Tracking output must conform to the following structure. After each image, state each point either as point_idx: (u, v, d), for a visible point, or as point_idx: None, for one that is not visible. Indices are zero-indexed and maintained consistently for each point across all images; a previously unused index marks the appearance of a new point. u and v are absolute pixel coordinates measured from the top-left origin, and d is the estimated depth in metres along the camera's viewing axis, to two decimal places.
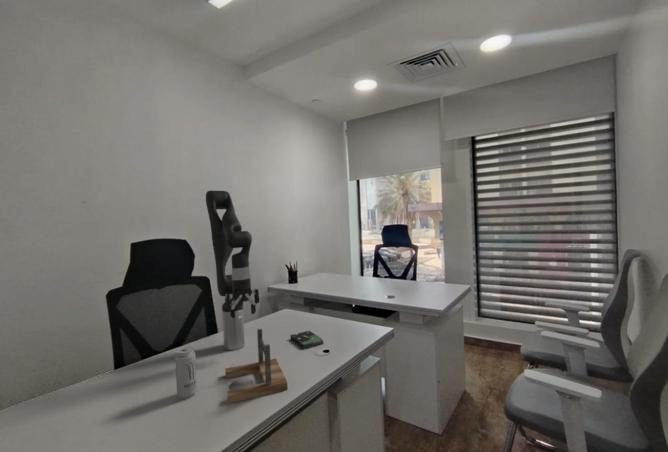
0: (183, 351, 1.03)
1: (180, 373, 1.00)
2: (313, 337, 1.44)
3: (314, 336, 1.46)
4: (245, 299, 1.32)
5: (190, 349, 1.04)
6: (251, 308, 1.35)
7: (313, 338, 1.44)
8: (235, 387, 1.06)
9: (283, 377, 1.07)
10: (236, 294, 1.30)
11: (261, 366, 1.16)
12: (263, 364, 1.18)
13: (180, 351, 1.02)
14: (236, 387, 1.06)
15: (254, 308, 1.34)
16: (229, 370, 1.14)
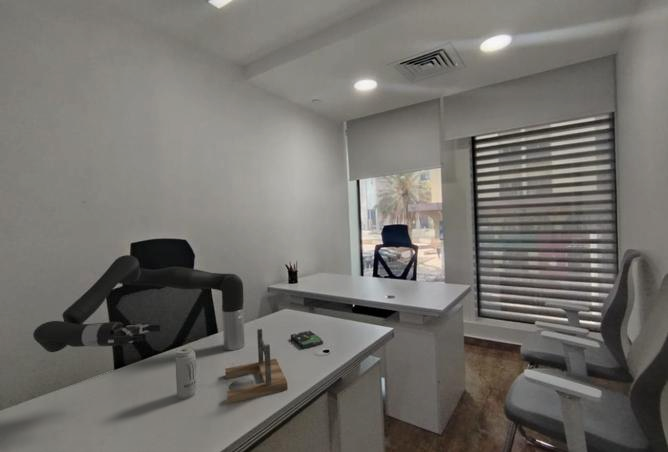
0: (183, 351, 1.03)
1: (180, 373, 1.00)
2: (313, 337, 1.44)
3: (314, 336, 1.46)
4: (133, 328, 1.03)
5: (190, 349, 1.04)
6: (153, 329, 1.07)
7: (313, 338, 1.44)
8: (235, 387, 1.06)
9: (283, 377, 1.07)
10: (117, 333, 1.00)
11: (261, 366, 1.16)
12: (263, 364, 1.18)
13: (180, 351, 1.02)
14: (236, 387, 1.06)
15: (154, 325, 1.07)
16: (229, 370, 1.14)
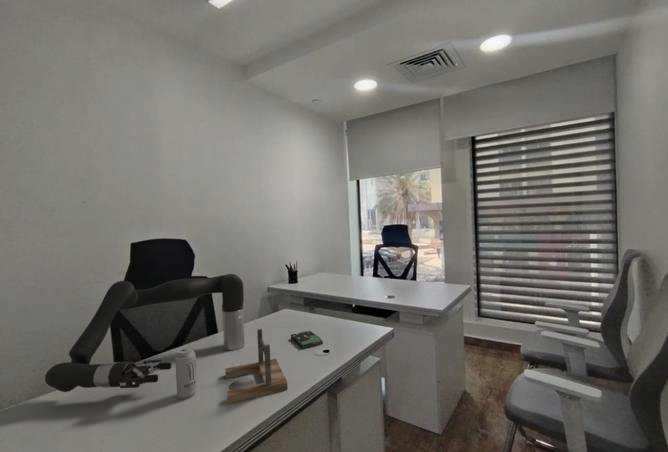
0: (183, 351, 1.02)
1: (180, 373, 1.00)
2: (312, 337, 1.44)
3: (314, 336, 1.46)
4: (144, 368, 1.03)
5: (190, 349, 1.04)
6: (164, 368, 1.07)
7: (312, 338, 1.43)
8: (235, 387, 1.06)
9: (283, 377, 1.07)
10: (129, 374, 1.00)
11: (261, 366, 1.16)
12: (263, 364, 1.18)
13: (180, 351, 1.02)
14: (236, 387, 1.06)
15: (165, 363, 1.07)
16: (229, 370, 1.14)
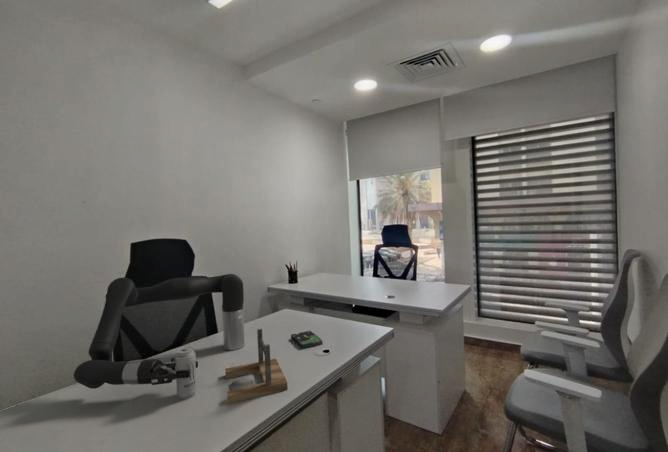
0: (183, 351, 1.03)
1: None
2: (312, 337, 1.44)
3: (314, 336, 1.46)
4: (170, 366, 1.04)
5: (190, 349, 1.04)
6: None
7: (312, 338, 1.43)
8: (235, 387, 1.06)
9: (283, 377, 1.07)
10: (157, 371, 1.00)
11: (261, 366, 1.16)
12: (263, 364, 1.18)
13: (180, 351, 1.02)
14: (236, 387, 1.06)
15: None
16: (229, 370, 1.14)
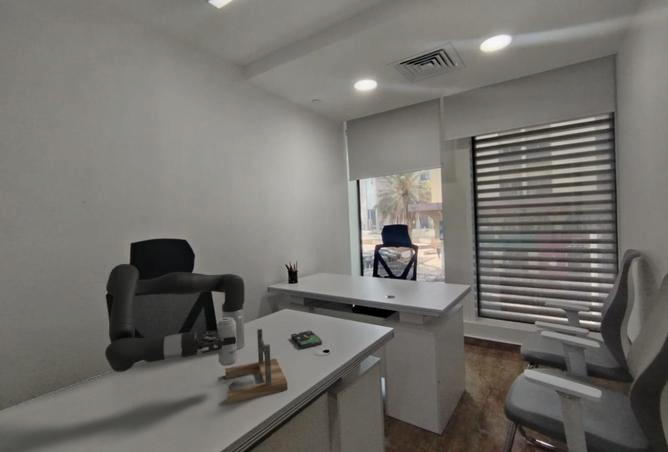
0: (225, 320, 1.05)
1: None
2: (312, 337, 1.44)
3: (314, 336, 1.46)
4: (211, 336, 1.05)
5: (231, 318, 1.07)
6: None
7: (312, 338, 1.43)
8: (235, 387, 1.06)
9: (283, 377, 1.07)
10: (201, 341, 1.01)
11: (261, 366, 1.16)
12: (263, 364, 1.18)
13: (222, 320, 1.05)
14: (236, 387, 1.06)
15: None
16: (229, 370, 1.14)
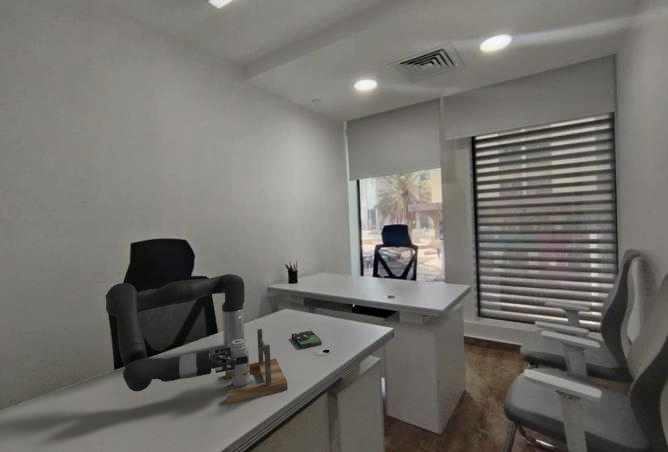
0: (238, 342, 1.07)
1: None
2: (312, 337, 1.44)
3: (314, 336, 1.46)
4: (224, 354, 1.07)
5: (243, 340, 1.09)
6: None
7: (312, 338, 1.43)
8: (235, 387, 1.06)
9: (283, 377, 1.07)
10: (216, 360, 1.03)
11: (261, 366, 1.16)
12: (263, 364, 1.18)
13: (235, 342, 1.07)
14: (236, 387, 1.06)
15: None
16: (229, 370, 1.14)
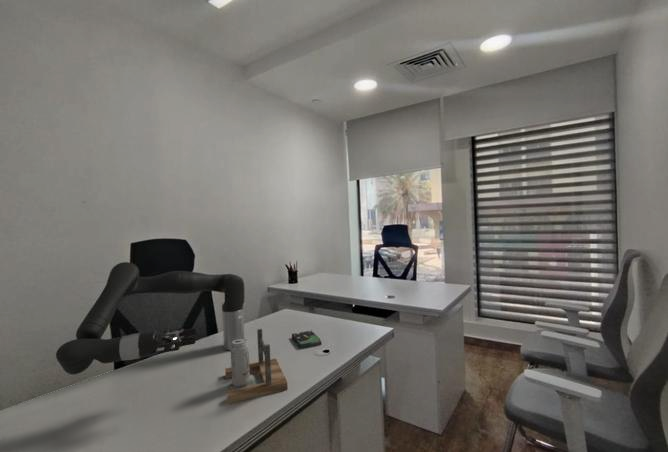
0: (238, 342, 1.07)
1: (239, 362, 1.05)
2: (312, 337, 1.44)
3: (314, 336, 1.46)
4: (172, 335, 1.01)
5: (243, 340, 1.09)
6: (189, 334, 1.06)
7: (312, 338, 1.43)
8: (235, 387, 1.06)
9: (283, 377, 1.07)
10: (161, 341, 0.97)
11: (261, 366, 1.16)
12: (263, 364, 1.18)
13: (235, 342, 1.07)
14: (236, 387, 1.06)
15: None
16: (229, 370, 1.14)
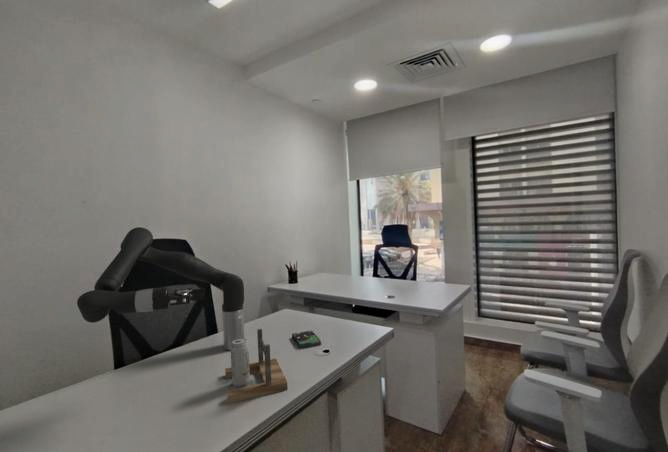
0: (238, 342, 1.07)
1: (239, 362, 1.05)
2: (312, 337, 1.44)
3: (314, 336, 1.46)
4: (183, 292, 1.09)
5: (243, 340, 1.09)
6: (198, 293, 1.13)
7: (312, 338, 1.43)
8: (235, 387, 1.06)
9: (283, 377, 1.07)
10: (173, 295, 1.04)
11: (261, 366, 1.16)
12: (263, 364, 1.18)
13: (235, 342, 1.07)
14: (236, 387, 1.06)
15: None
16: (229, 370, 1.14)
